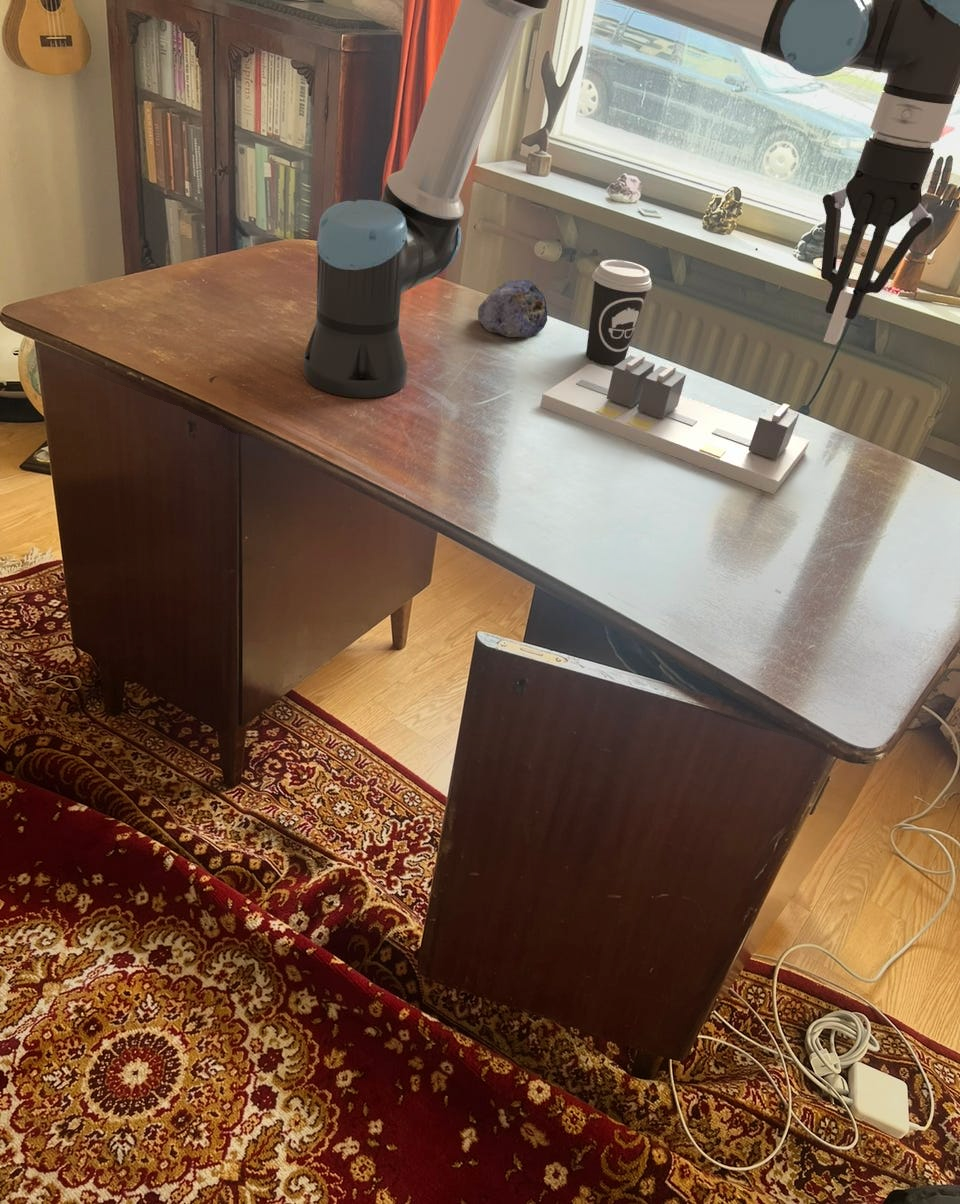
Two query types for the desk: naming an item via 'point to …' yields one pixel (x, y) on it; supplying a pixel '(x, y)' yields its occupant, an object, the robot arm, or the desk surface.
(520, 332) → the rock
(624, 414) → the console
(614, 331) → the coffee cup
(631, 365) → the slider
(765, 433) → the slider
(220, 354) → the desk surface
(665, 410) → the slider
